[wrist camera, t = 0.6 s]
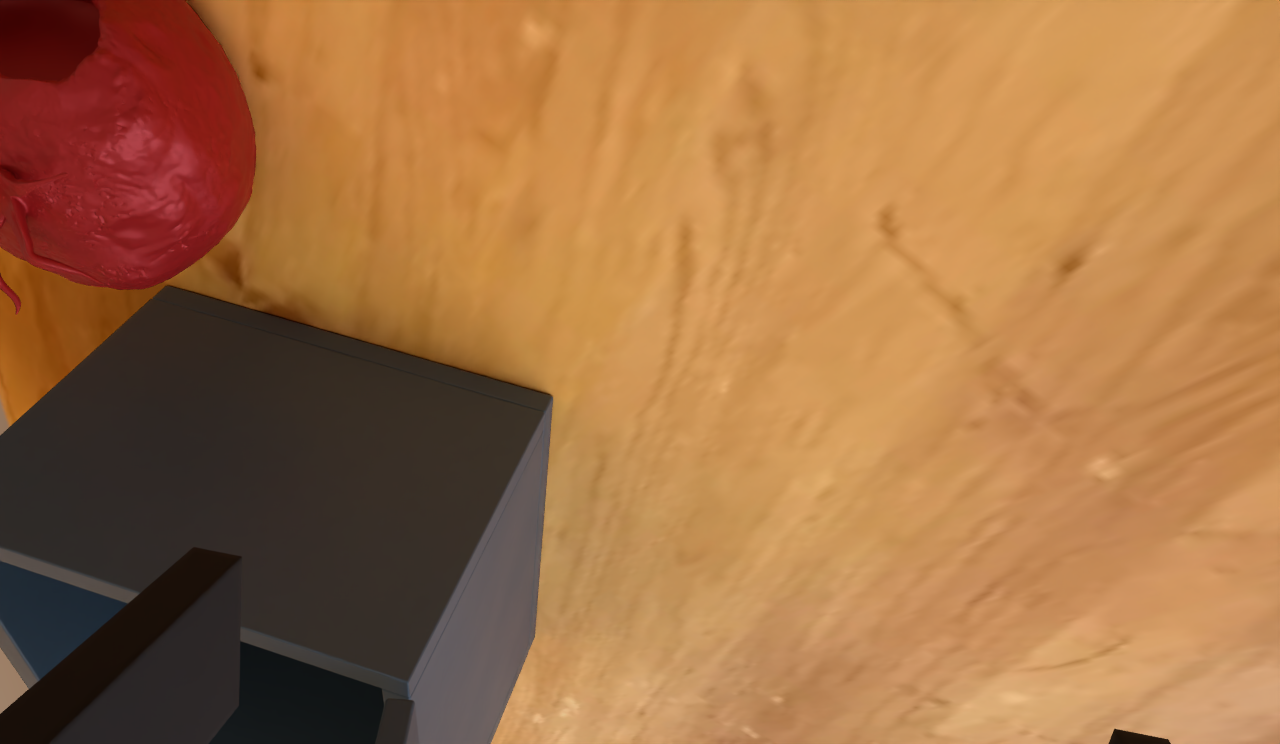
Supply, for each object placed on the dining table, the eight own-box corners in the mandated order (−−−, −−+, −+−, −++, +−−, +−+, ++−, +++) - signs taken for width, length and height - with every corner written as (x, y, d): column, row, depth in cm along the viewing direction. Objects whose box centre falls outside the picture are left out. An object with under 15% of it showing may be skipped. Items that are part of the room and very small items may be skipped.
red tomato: (349, 200, 31) (171, 385, 24) (124, 220, 34) (-86, 385, 27) (192, -129, 25) (-103, -5, 18) (-61, -64, 28) (-386, 60, 21)
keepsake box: (242, 542, 47) (78, 762, 39) (166, 283, 36) (-91, 517, 27) (535, 636, 46) (430, 889, 37) (554, 395, 34) (408, 682, 25)
